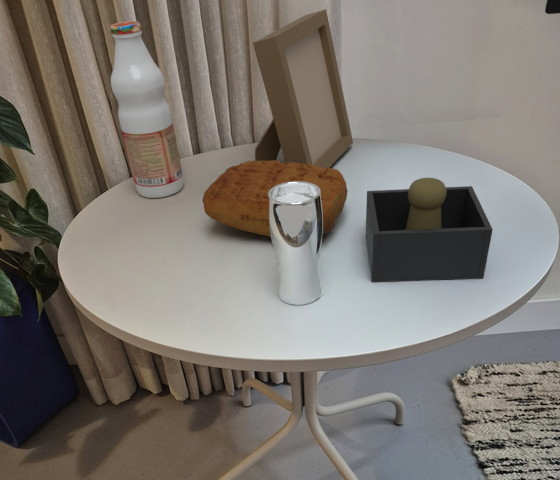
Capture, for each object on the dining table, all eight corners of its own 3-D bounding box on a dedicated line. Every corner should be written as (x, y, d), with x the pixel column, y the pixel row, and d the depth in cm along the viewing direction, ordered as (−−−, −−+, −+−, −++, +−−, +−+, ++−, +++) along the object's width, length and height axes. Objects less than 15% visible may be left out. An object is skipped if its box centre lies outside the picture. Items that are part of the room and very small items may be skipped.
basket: (464, 232, 91) (472, 185, 86) (483, 278, 81) (492, 229, 76) (365, 236, 92) (366, 190, 87) (371, 282, 82) (373, 234, 77)
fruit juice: (149, 204, 107) (109, 33, 88) (128, 188, 113) (87, 25, 95) (193, 189, 111) (163, 22, 92) (171, 174, 117) (139, 15, 98)
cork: (392, 253, 86) (396, 183, 79) (416, 238, 89) (423, 168, 82) (425, 267, 83) (433, 194, 76) (450, 251, 86) (460, 179, 78)
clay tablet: (199, 238, 95) (191, 192, 90) (240, 195, 107) (234, 151, 102) (326, 254, 89) (325, 205, 83) (355, 205, 100) (356, 160, 95)
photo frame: (353, 147, 121) (354, 9, 104) (312, 190, 106) (307, 37, 90) (289, 141, 126) (281, 8, 110) (242, 181, 112) (225, 35, 95)
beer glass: (318, 276, 84) (315, 177, 74) (329, 302, 79) (328, 199, 69) (271, 283, 83) (262, 184, 74) (280, 310, 78) (271, 208, 68)
